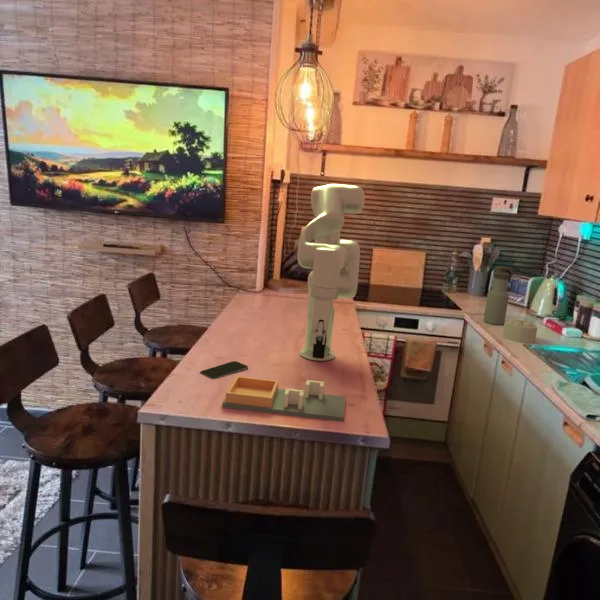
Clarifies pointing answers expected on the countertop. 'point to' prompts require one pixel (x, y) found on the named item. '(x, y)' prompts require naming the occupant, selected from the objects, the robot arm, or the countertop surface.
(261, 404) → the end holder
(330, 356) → the pacifier
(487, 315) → the water bottle
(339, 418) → the board
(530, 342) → the lumpy-topped squat cylinder
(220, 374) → the smartphone
